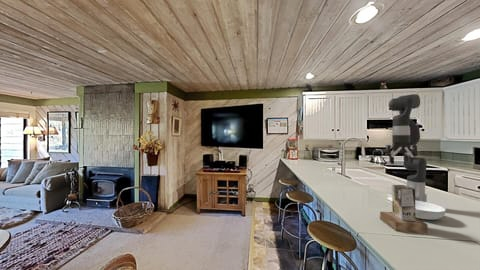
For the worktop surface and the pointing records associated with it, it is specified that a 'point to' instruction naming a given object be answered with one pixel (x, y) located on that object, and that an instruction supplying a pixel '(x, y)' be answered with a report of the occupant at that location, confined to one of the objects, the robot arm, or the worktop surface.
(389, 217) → the walnut block
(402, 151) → the robot arm
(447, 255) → the worktop surface
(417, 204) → the serving bowl
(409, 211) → the coffee box
